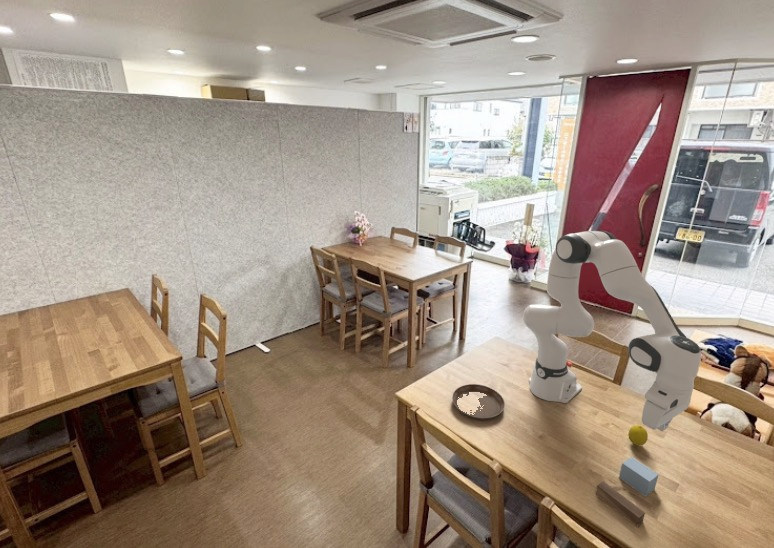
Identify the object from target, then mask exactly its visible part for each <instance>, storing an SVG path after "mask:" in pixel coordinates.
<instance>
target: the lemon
mask: <svg viewBox="0 0 774 548" xmlns="http://www.w3.org/2000/svg"><path fill="white" fill-rule="evenodd" d="M648 434H649V433H648V431H647V430H646V428H645V427H644V426H642V425H639V424H634V425H632V426H631V427H630V428H629V430H628V435H627V436H628V439H629V441H630V443H632V445H633V444H634V445H635V446H643V445H645V444H646V443H647V442H648V436H649V435H648Z"/></svg>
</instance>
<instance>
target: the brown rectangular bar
mask: <svg viewBox="0 0 774 548" xmlns="http://www.w3.org/2000/svg"><path fill="white" fill-rule="evenodd" d="M595 495H596V496H597V497H599V498H600V499H601V500H603V502H605V503H606V504H608V506H609V507H611V508H612V509H613V510H615V511H616V512H617V513H619V514H620V515H621V516H623V518H625V519H626V520H628V522H630V523H631V524H632V525H633V526H635V527H636V528H638V527H639V526H640V525H641V524H642V523H644V518H645V515H646V512H645V511H644V510H642V509H641V508H640V507H639V506H637V505H636V504H634V503H633V502H632V501H631V500H630V499H628V498H626V497H625V496H624V495H623V494H622V493H620V492H619V491H617V490H616V489H615V488H614V487H612V486H611V485H610V484H608V483H607V482H606V481H604V480H603V481H602V482H600V483H598V484H597V487H596V491H595Z"/></svg>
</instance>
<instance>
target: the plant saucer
mask: <svg viewBox="0 0 774 548" xmlns="http://www.w3.org/2000/svg"><path fill="white" fill-rule="evenodd" d="M469 392H480V393H484V394H486V395H487V396H483V398H479V399H478V400H479V402H480V405H481V407H482V406H483V405H484V406H483V407H482V408H483V409H480V408H481V407H480V406H479V407H477V408H478V410H476V412H474V413H475V414H474V413H473V414H474V415H472V414H470V415H469V414H467V412H466V413H465V412H463V411H461V410H460V409H459V407H458V405H457V400H458V399H459V398H462V397H463V394H467V395H466V396H468V395H469ZM458 397H459V398H458ZM452 402H453V404H454V406H455V408H456V409H457V410H458V411H460V413H461V414H462V415H465V416H467V417H468V418H470V419H474V420H478V421H479V420H481V421H483V420H484V421H485V420H491V419H494V418H496V417H497V416H499V415H500V414H502V412H503V411H504V410H505V406H506V405H505V400H504V398H503V396H502V395H501V394H500V393H499V392H498V391H497V390H495V389H493V388H492V387H489V386H487V385H482V384H478V383H477V384H475V383H469V384H463V385H461V386H459V387H458V388H456V389H454V391H453V394H452ZM480 410H481V411H480ZM470 411H472V410H470ZM470 413H472V412H470Z"/></svg>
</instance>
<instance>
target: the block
mask: <svg viewBox="0 0 774 548" xmlns="http://www.w3.org/2000/svg"><path fill="white" fill-rule="evenodd" d="M659 475H660V474H659V473H658V472H656V471H654V470H653V469H651V468H649V467H648V466H646V465H645V464H643V463H642V462H640V461H638V460H637V459H636V458H634V457H633V456H630V457H629V458H628V459H627V458H626V460H624V461H623V462H622V463H621V467H620V470H619V475H618V478H619V480H620V479H621V480H622V481H623V482H624V483H626V484H627V485H629V486H630V487H631V488H633V489H634V490H635V491H637V492H639V494H641V495H643V496H644V497H647V496H648V495H650V494H651V493H652V492H653V491H655V490H656V486H657V482H658V479H659Z"/></svg>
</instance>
